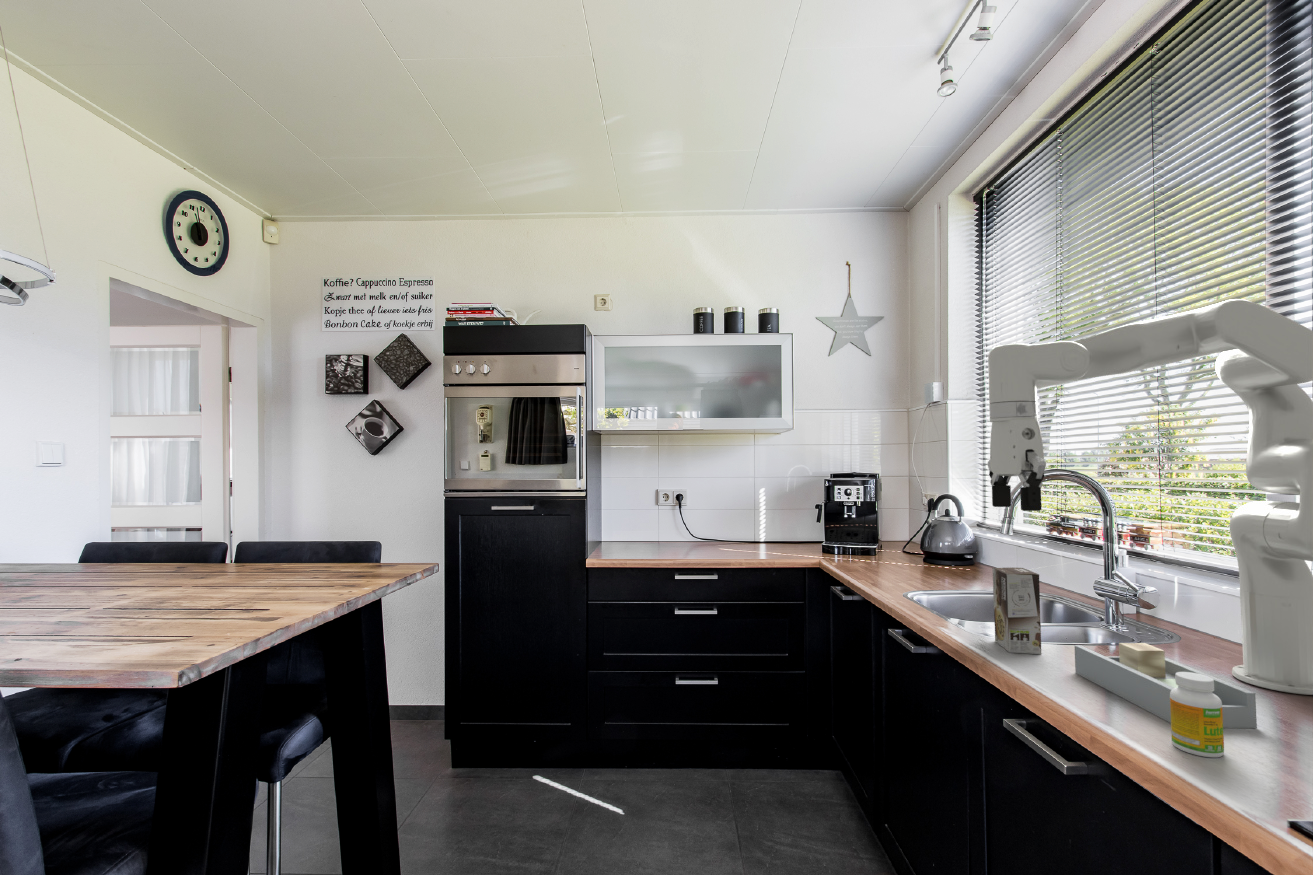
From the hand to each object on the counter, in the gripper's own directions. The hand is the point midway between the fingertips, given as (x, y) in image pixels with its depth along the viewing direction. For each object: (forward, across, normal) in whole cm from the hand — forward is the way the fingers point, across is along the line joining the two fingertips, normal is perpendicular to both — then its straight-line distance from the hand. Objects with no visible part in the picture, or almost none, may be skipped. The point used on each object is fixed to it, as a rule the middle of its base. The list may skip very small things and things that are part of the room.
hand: (1015, 508), depth 112 cm
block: (+28, -4, -18) cm, 33 cm away
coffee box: (+31, +21, -10) cm, 39 cm away
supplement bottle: (+31, -26, -9) cm, 41 cm away
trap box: (+31, -7, -18) cm, 36 cm away
